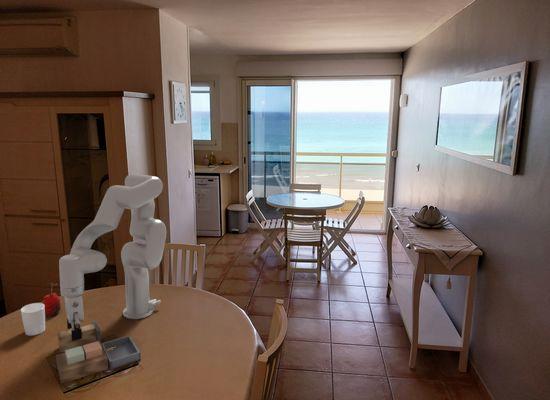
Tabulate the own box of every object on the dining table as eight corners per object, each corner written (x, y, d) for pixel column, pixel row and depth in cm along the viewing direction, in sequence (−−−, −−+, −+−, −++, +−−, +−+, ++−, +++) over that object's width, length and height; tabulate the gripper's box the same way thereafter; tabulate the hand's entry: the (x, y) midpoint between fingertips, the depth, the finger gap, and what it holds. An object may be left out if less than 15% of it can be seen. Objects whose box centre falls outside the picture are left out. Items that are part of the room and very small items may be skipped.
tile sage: (81, 352, 136) (81, 345, 135) (84, 359, 132) (84, 353, 131) (65, 357, 133) (64, 350, 132) (67, 364, 129) (67, 358, 128)
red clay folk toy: (54, 308, 173) (51, 276, 170) (65, 312, 170) (62, 279, 167) (37, 315, 167) (34, 282, 164) (48, 319, 164) (45, 285, 161)
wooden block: (100, 352, 143) (100, 342, 142) (108, 368, 134) (107, 358, 133) (56, 365, 135) (55, 355, 134) (61, 383, 126) (60, 372, 125)
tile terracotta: (99, 347, 139) (98, 341, 138) (102, 354, 135) (101, 348, 134) (83, 352, 136) (82, 345, 135) (86, 359, 132) (85, 352, 131)
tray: (130, 342, 149) (129, 335, 149) (140, 360, 139) (140, 352, 138) (101, 350, 144) (101, 343, 143) (110, 369, 133) (110, 361, 133)
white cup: (36, 338, 151) (33, 313, 148) (18, 335, 152) (15, 311, 150) (51, 327, 158) (49, 304, 156) (34, 324, 160) (32, 301, 157)
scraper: (96, 334, 154) (95, 320, 153) (101, 345, 147) (100, 330, 146) (57, 344, 147) (56, 329, 146) (61, 356, 140) (59, 341, 138)
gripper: (88, 296, 137) (90, 341, 140) (79, 279, 151) (81, 321, 154) (64, 300, 133) (66, 347, 136) (57, 283, 147) (59, 326, 150)
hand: (74, 333), depth 145 cm, fingers open, 9 cm apart
